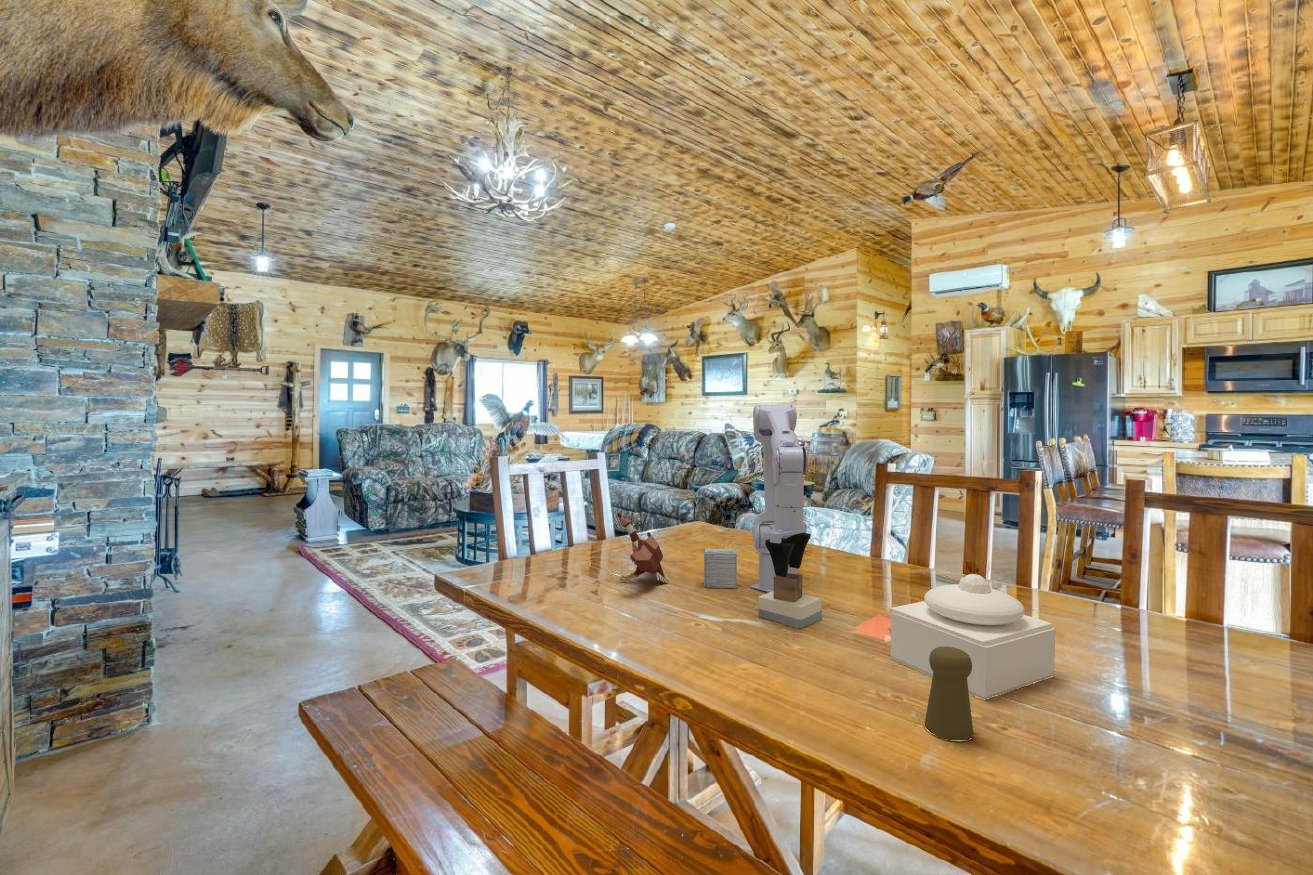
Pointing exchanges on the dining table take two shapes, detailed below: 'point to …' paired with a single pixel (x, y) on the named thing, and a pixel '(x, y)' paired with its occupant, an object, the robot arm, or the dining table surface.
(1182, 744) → the dining table surface
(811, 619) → the tower base block
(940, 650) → the dark olive pawn
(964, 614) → the white saucer-topped box
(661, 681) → the dining table surface
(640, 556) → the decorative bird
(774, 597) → the walnut cube
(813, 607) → the tower top block
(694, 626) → the dining table surface
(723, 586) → the gray wood grain block
